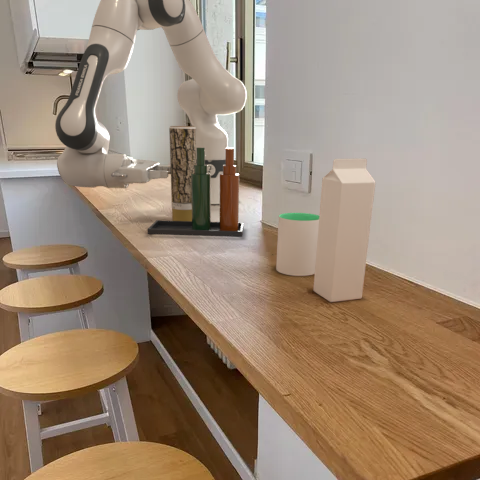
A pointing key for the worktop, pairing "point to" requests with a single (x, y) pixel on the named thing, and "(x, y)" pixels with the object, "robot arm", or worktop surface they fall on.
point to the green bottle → (201, 193)
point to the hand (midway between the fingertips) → (170, 172)
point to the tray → (190, 229)
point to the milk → (344, 230)
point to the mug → (297, 243)
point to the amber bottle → (229, 195)
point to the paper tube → (182, 170)
